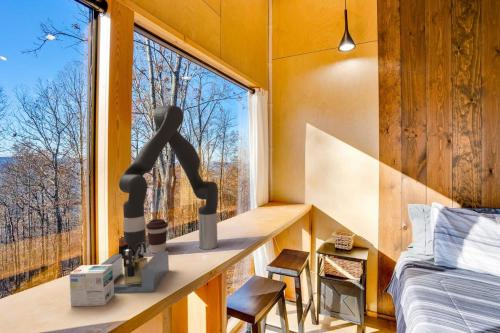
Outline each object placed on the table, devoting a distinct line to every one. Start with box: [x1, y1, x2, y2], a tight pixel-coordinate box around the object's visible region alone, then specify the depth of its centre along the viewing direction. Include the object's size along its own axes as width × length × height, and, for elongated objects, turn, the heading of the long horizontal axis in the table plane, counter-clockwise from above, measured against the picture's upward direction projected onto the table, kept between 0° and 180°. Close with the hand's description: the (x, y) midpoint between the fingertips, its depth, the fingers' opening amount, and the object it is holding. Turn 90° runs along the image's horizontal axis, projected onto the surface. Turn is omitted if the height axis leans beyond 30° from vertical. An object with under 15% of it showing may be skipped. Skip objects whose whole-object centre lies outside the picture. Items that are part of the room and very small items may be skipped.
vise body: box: [114, 250, 170, 294], centre depth 99 cm, size 17×26×8 cm, turn 90°
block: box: [123, 257, 148, 284], centre depth 99 cm, size 4×7×8 cm, turn 91°
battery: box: [119, 236, 128, 257], centre depth 125 cm, size 4×7×10 cm, turn 152°
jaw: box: [100, 253, 124, 282], centre depth 99 cm, size 12×7×8 cm, turn 0°
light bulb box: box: [69, 264, 115, 307], centre depth 86 cm, size 11×7×11 cm, turn 92°
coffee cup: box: [145, 218, 169, 254], centre depth 130 cm, size 10×10×15 cm
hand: (136, 271), depth 99 cm, fingers open, 8 cm apart
